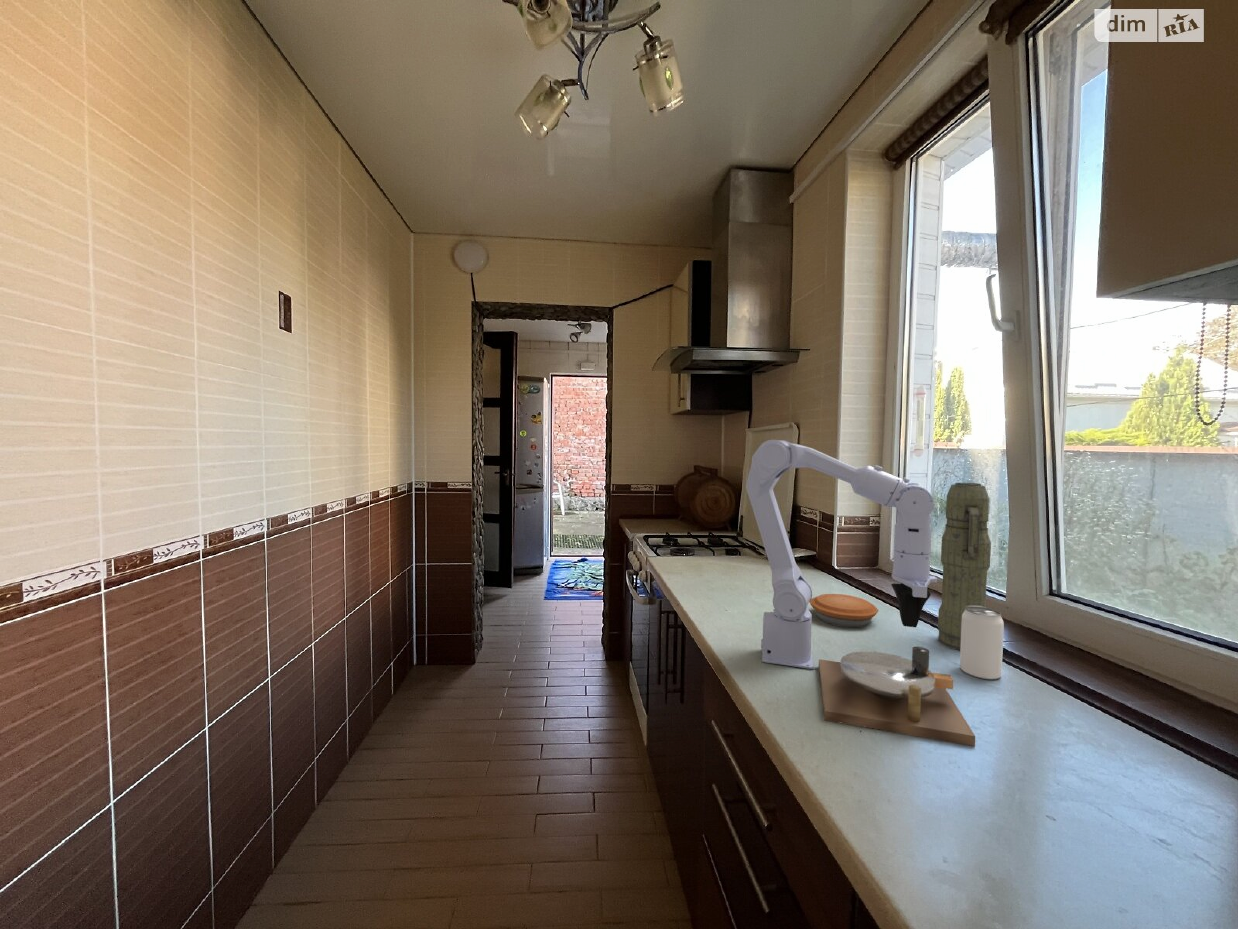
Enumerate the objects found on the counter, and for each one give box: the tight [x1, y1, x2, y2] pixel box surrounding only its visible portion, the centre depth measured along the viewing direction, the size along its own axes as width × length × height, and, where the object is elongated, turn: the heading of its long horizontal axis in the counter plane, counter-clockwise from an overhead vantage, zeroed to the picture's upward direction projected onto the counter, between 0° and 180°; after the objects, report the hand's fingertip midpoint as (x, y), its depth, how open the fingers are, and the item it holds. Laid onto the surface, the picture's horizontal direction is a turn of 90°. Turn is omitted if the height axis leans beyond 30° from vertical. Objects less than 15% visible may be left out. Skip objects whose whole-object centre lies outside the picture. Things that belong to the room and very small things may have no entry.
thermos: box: [937, 482, 992, 651], centre depth 109 cm, size 9×12×35 cm
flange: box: [840, 646, 954, 698], centre depth 85 cm, size 16×14×6 cm
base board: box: [818, 658, 976, 747], centre depth 85 cm, size 20×20×6 cm
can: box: [959, 606, 1005, 681], centre depth 96 cm, size 6×6×12 cm
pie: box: [809, 593, 880, 628], centre depth 125 cm, size 15×16×5 cm
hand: (909, 625), depth 92 cm, fingers closed
